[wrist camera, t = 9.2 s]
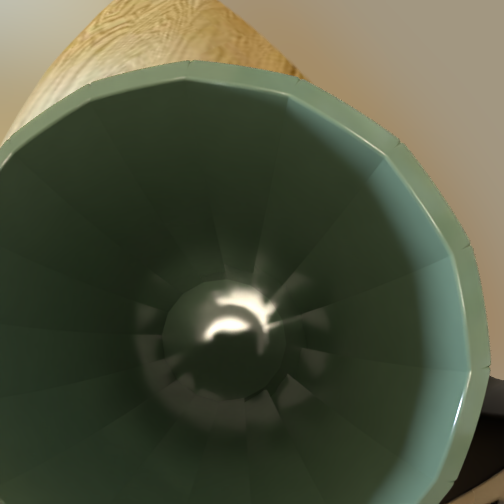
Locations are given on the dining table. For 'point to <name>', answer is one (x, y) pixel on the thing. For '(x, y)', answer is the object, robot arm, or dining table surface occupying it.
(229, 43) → the dining table surface
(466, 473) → the robot arm
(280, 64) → the dining table surface
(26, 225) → the cup
